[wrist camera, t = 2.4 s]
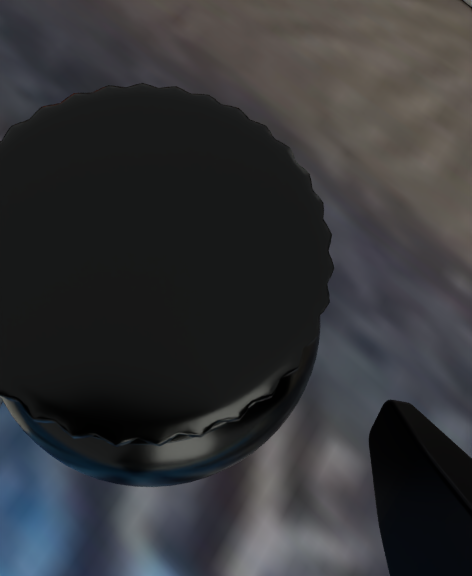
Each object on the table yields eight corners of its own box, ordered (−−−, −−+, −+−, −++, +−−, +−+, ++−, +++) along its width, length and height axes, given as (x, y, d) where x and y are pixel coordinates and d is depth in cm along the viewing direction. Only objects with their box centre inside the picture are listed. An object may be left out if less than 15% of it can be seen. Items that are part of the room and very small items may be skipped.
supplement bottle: (42, 361, 16) (-318, 226, 4) (170, 244, 18) (149, -57, 6) (172, 492, 15) (142, 732, 4) (290, 354, 17) (507, 232, 6)
